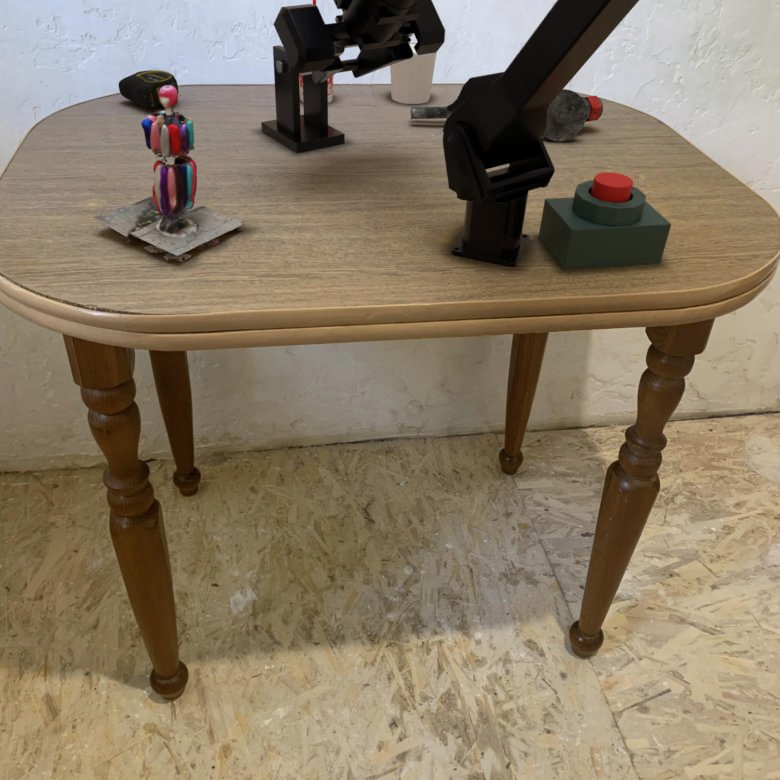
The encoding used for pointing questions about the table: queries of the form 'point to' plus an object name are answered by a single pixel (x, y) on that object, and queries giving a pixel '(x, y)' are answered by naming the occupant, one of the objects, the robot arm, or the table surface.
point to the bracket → (289, 123)
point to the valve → (562, 114)
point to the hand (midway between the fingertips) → (335, 77)
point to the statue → (171, 191)
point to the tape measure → (146, 87)
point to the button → (612, 187)
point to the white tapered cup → (413, 78)
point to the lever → (345, 66)
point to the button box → (602, 230)
